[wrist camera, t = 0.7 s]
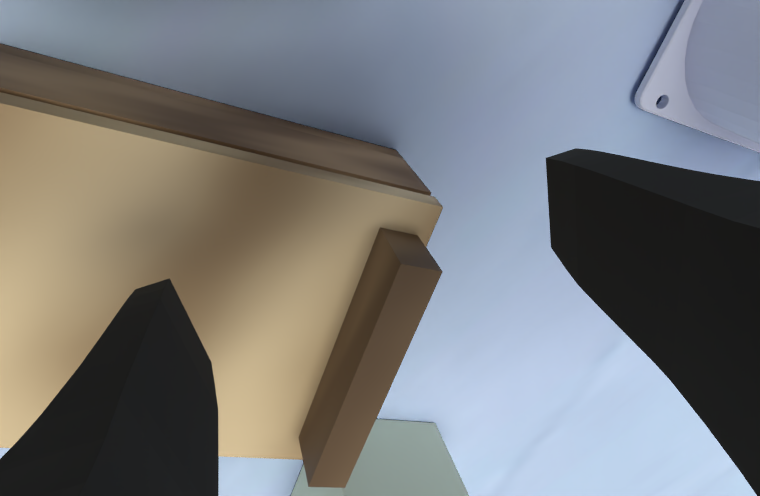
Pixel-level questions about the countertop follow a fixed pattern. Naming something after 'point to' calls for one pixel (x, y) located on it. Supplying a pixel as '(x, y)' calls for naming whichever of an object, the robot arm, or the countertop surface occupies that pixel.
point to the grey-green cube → (397, 465)
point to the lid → (209, 276)
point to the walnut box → (198, 118)
